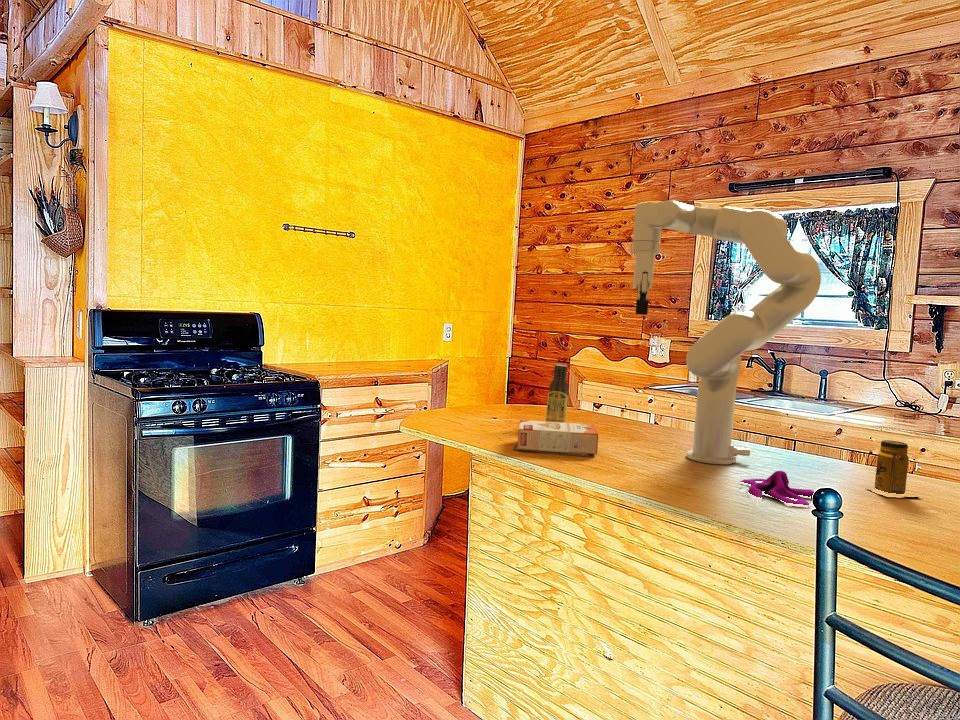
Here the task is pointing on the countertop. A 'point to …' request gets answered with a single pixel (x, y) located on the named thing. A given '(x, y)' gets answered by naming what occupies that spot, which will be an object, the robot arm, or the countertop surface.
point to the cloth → (778, 488)
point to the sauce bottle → (558, 396)
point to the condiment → (892, 467)
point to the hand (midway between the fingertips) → (641, 314)
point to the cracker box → (557, 437)
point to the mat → (552, 452)
